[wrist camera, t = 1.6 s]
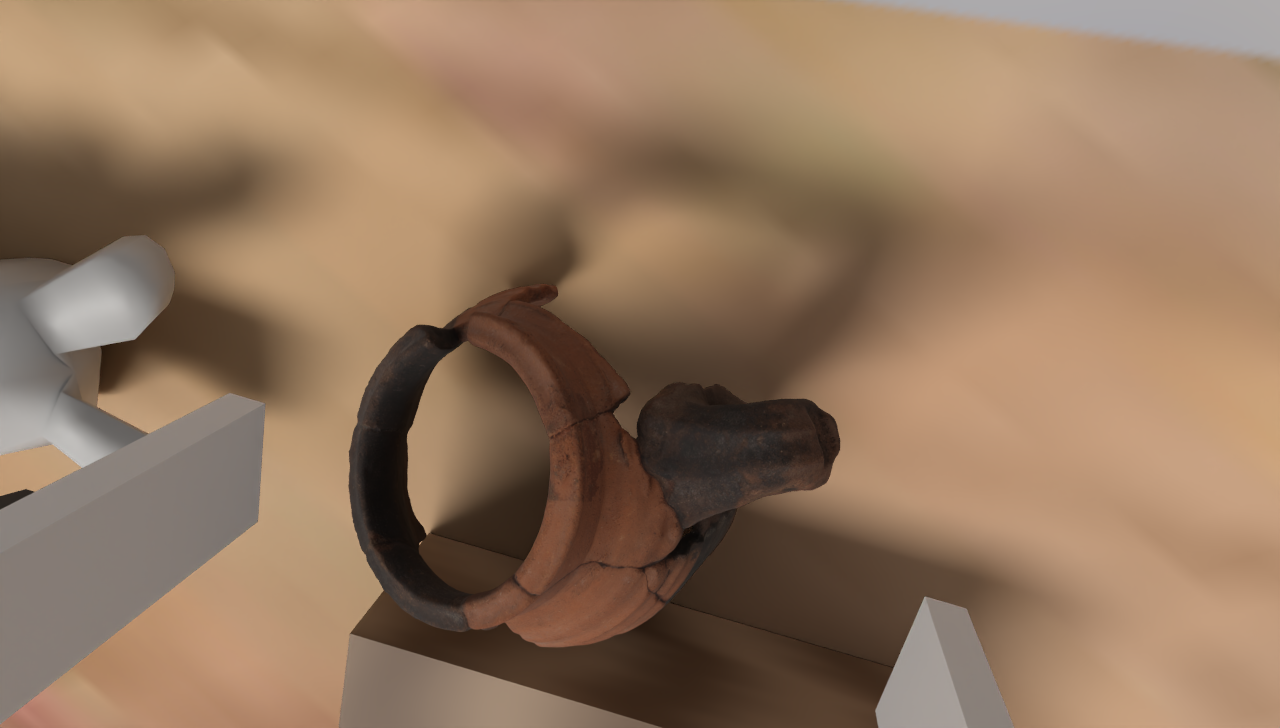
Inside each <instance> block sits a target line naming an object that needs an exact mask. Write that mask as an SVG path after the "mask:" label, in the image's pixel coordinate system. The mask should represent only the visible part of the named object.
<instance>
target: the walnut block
mask: <svg viewBox="0 0 1280 728" xmlns="http://www.w3.org/2000/svg"><path fill="white" fill-rule="evenodd" d="M419 554H420V555H421V556H422V558H423V560H424V561H425V562H426V564H427V565H428V566H429V567H430V568H431V569H432V571H433V572H434V573H435V574H436V575H437V576H438V577H439V578H441V579H442V580H443V581H444V582H445V583H446V584H448V585H449V586H451V587H453V588H455V589H456V590H459V591H461V592H465V593H469V594H476V593H480V592H485V591H489V590H492V589H494V588H496V587H498V586H499V585H501V584H502V583H504V582H505V581H506V580H507V579H508V578H510V577H511V576H512V575H513V574H514V573H516V571H517V569H518V568H519V567H520V566H521V564H522V563H523V562H524V561H523V560H520V559H516V558H513V557H509V556H506V555H503V554H499V553H496V552H492V551H489V550H485V549H482V548H478V547H475V546H472V545H468V544H465V543H461V542H458V541H454V540H451V539H447V538H444V537H441V536H437V535H434V534H430V533H429V534H428V535H427V536H426V538H425V539H424V540H423V541H422V543H421V544H420V545H419ZM893 669H894V668H892V667H888V666H885V665H881V664H878V663H875V662H871V661H868V660H864V659H861V658H857V657H854V656H850V655H847V654H844V653H840V652H837V651H833V650H830V649H826V648H823V647H819V646H816V645H813V644H809V643H806V642H802V641H799V640H795V639H792V638H788V637H785V636H782V635H778V634H775V633H771V632H768V631H764V630H761V629H757V628H754V627H751V626H747V625H744V624H740V623H737V622H733V621H730V620H726V619H723V618H720V617H716V616H713V615H709V614H706V613H702V612H699V611H695V610H692V609H689V608H685V607H682V606H678V605H675V604H671V603H668V604H666V605H665V606H664V607H663V608H662V609H661V610H660V611H659V612H658V613H657V614H655V615H654V616H653V617H652V618H650V619H648V620H647V621H646V622H644V623H642V624H641V625H639V626H637V627H636V628H634V629H632V630H630V631H628V632H625V633H622V634H617V635H614V636H612V637H611V638H609V639H606V640H602V641H600V642H596V643H593V644H587V645H577V646H568V647H540V646H538V645H536V644H535V643H533V642H528V641H526V640H524V639H523V638H522V637H521V636H520V635H519V634H516V633H514V632H512V630H511V629H510V628H509V627H508V625H507V624H506V623H505V622H504V623H502V624H500V625H499V626H498V627H496V628H493V629H490V630H482V629H479V630H478V629H470V630H468V631H465V632H456V631H451V630H444V629H441V628H436V627H434V626H431V625H429V624H426V623H424V622H422V621H421V620H419V619H415V618H414V617H412V616H411V615H410V614H409V613H407V612H405V611H404V610H403V609H401V608H400V607H399V606H398V604H397V603H396V602H395V601H394V600H393V599H392V598H391V596H390V595H389V594H388V593H386V592H385V591H383V592H382V594H381V595H380V596H379V597H378V599H377V600H376V601H375V603H374V604H373V605H372V606H371V608H370V609H369V610H368V611H367V613H366V614H365V615H364V617H363V618H362V619H361V620H360V622H359V623H358V624H357V625H356V627H355V628H354V629H353V631H352V632H351V633H350V638H349V647H348V655H347V663H346V671H345V680H344V688H343V696H342V704H341V713H340V721H339V728H878V723H877V717H876V712H875V710H876V708H877V705H878V703H879V701H880V698H881V696H882V694H883V692H884V689H885V687H886V685H887V682H888V680H889V678H890V675H891V673H892V671H893Z"/></svg>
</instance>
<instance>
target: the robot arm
mask: <svg viewBox="0 0 1280 728" xmlns="http://www.w3.org/2000/svg"><path fill="white" fill-rule="evenodd" d="M264 418H265V403H262V402H259V401H256V400H252V399H249V398H245V397H242V396H239V395H235V394H232V393H229V394H227V395H225V396H223V397H221V398H219V399H217V400H215V401H213V402H211V403H209V404H207V405H205V406H203V407H201V408H199V409H197V410H195V411H193V412H191V413H189V414H187V415H185V416H183V417H182V418H180V419H178V420H176V421H174V422H172V423H170V424H168V425H166V426H164V427H162V428H160V429H158V430H156V431H154V432H152V433H150V434H148V435H146V436H144V437H142V438H140V439H138V440H136V441H134V442H132V443H130V444H128V445H126V446H124V447H123V448H121V449H119V450H117V451H115V452H113V453H111V454H109V455H107V456H105V457H103V458H101V459H99V460H97V461H95V462H93V463H91V464H89V465H87V466H85V467H83V468H81V469H79V470H77V471H75V472H73V473H71V474H69V475H67V476H65V477H63V478H62V479H60V480H58V481H56V482H54V483H52V484H50V485H48V486H46V487H44V488H42V489H40V490H38V491H36V492H33V491H30V490H27V489H25V490H21V491H18V492H14V493H10V494H7V495H3V496H0V724H1V723H2V722H4V721H5V720H6V719H7V718H9V717H10V716H11V715H13V714H14V713H15V712H16V711H18V710H19V709H20V708H21V707H23V706H24V705H25V704H27V703H28V702H29V701H30V700H32V699H33V698H34V697H35V696H37V695H38V694H39V693H40V692H42V691H43V690H44V689H46V688H47V687H48V686H49V685H51V684H52V683H53V682H54V681H56V680H57V679H58V678H60V677H61V676H62V675H63V674H65V673H66V672H67V671H68V670H70V669H71V668H72V667H74V666H75V665H76V664H77V663H79V662H80V661H81V660H82V659H84V658H85V657H86V656H88V655H89V654H90V653H91V652H93V651H94V650H95V649H96V648H98V647H99V646H100V645H101V644H103V643H104V642H105V641H107V640H108V639H109V638H110V637H112V636H113V635H114V634H115V633H117V632H118V631H119V630H121V629H122V628H123V627H124V626H126V625H127V624H128V623H129V622H131V621H132V620H133V619H135V618H136V617H137V616H138V615H140V614H141V613H142V612H143V611H145V610H146V609H147V608H148V607H150V606H151V605H152V604H154V603H155V602H156V601H157V600H159V599H160V598H161V597H162V596H164V595H165V594H166V593H168V592H169V591H170V590H171V589H173V588H174V587H175V586H176V585H178V584H179V583H180V582H182V581H183V580H184V579H185V578H187V577H188V576H189V575H190V574H192V573H193V572H194V571H195V570H197V569H198V568H199V567H201V566H202V565H203V564H204V563H206V562H207V561H208V560H209V559H211V558H212V557H213V556H215V555H216V554H217V553H218V552H220V551H221V550H222V549H223V548H225V547H226V546H227V545H229V544H230V543H231V542H232V541H234V540H235V539H236V538H237V537H239V536H240V535H241V534H243V533H244V532H245V531H246V530H248V529H249V528H250V527H251V526H253V525H254V524H255V523H256V522H258V512H259V496H260V481H261V465H262V450H263V434H264ZM875 712H876V717H877V723H878V728H1014V726H1013V723H1012V721H1011V718H1010V716H1009V713H1008V711H1007V708H1006V706H1005V703H1004V701H1003V698H1002V696H1001V693H1000V691H999V688H998V686H997V683H996V681H995V678H994V676H993V673H992V671H991V668H990V666H989V663H988V661H987V658H986V656H985V653H984V651H983V648H982V646H981V643H980V641H979V638H978V636H977V633H976V631H975V628H974V626H973V624H972V621H971V619H970V616H969V614H968V611H967V609H966V608H963V607H960V606H956V605H953V604H950V603H946V602H943V601H939V600H936V599H933V598H929V597H926V596H925V597H924V599H923V602H922V604H921V606H920V609H919V611H918V613H917V616H916V618H915V620H914V622H913V625H912V627H911V629H910V632H909V634H908V636H907V639H906V641H905V643H904V646H903V648H902V650H901V652H900V655H899V657H898V659H897V662H896V664H895V666H894V669H893V671H892V673H891V675H890V678H889V680H888V682H887V685H886V687H885V689H884V692H883V694H882V696H881V698H880V701H879V703H878V705H877V708H876V710H875Z"/></svg>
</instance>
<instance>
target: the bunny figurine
mask: <svg viewBox="0 0 1280 728" xmlns="http://www.w3.org/2000/svg"><path fill="white" fill-rule="evenodd" d="M174 288H175V271H174V269H173V267H172V264H171V262H170V260H169V257H168V255H167V253H166V251H165V249H164V248H163V247H161V246H160V245H159V244H157V243H156V242H155V241H153V240H152V239H150V238H149V237H148V236H146V235H137V236H123V237H121V238H120V239H118V240H116V241H114V242H113V243H111V244H109V245H107V246H106V247H104V248H102V249H100V250H98V251H97V252H95V253H93V254H91V255H90V256H88V257H86V258H84V259H83V260H81V261H79V262H77V263H76V264H74V265H70V264H66V263H63V262H60V261H56V260H53V259H44V258H16V259H2V260H0V455H4V454H8V453H13V452H18V451H23V450H28V449H33V448H37V447H42V446H47V445H52V444H53V445H54V446H55V447H57V448H58V449H59V450H60V451H62V452H63V453H64V454H65V455H67V456H68V457H69V458H71V459H72V460H73V461H74V462H76V463H77V464H78V465H79V466H81V467H82V468H83V467H85V466H87V465H89V464H91V463H93V462H95V461H97V460H99V459H101V458H103V457H105V456H107V455H109V454H111V453H113V452H115V451H117V450H119V449H121V448H123V447H124V446H126V445H128V444H130V443H132V442H134V441H136V440H138V439H140V438H142V437H144V436H146V435H148V433H146V432H144V431H142V430H140V429H138V428H136V427H134V426H133V425H131V424H129V423H127V422H125V421H123V420H121V419H119V418H117V417H115V416H113V415H111V414H109V413H107V412H106V411H104V410H102V409H100V408H98V407H97V401H98V389H99V382H100V366H101V354H102V350H101V347H100V346H102V345H107V344H113V343H118V342H124V341H129V340H134V339H136V338H137V337H138V336H139V335H140V334H141V333H142V332H143V330H144V329H145V328H146V327H147V326H148V325H149V324H150V323H151V322H152V321H153V320H154V319H155V318H156V317H157V316H158V315H159V314H160V313H161V312H162V311H163V310H164V309H165V308H166V307H167V306H168V305H169V304H170V301H171V298H172V295H173V292H174Z"/></svg>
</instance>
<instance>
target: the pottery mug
mask: <svg viewBox="0 0 1280 728" xmlns="http://www.w3.org/2000/svg"><path fill="white" fill-rule="evenodd" d="M557 296H558V289H557V287H556V286H554V285H547V284H536V285H532V286H526V287H517V288H513V289H509V290H505V291H502V292H499V293H497V294H494V295H492V296H490V297H488V298H486V299H484V300H482V301H480V302H479V303H478V304H477V305H476V306H474V307H472V308H469V309H467V310H466V311H464V312H463V313H462V314H460V315H458V316H457V317H456V318H454V319H453V320H452V321H451V322H449V323H448V324H447V325H446V326H445V327H444V328H437V327H434V326H430V325H416V326H415V327H413V328H411V329H410V330H409V331H408V332H407V333H406V334H405V335H404V336H403V337H402V338H400V339H399V340H398V341H397V342H396V343H395V344H394V345H393V347H392V348H391V349H390V350H389V352H388V354H387V355H386V357H385V358H384V359H383V360H382V361H381V363H380V364H379V365H378V367H377V368H376V370H375V372H374V374H373V376H372V377H371V379H370V381H369V384H368V386H367V387H366V389H365V392H364V395H363V397H362V401H361V405H360V408H359V411H358V415H357V418H358V423H357V425H356V427H355V429H354V432H353V437H352V443H351V448H350V450H349V462H350V473H349V493H350V502H351V509H352V517H353V523H354V527H355V530H356V532H357V537H358V539H359V543H360V546H361V549H362V551H363V552H364V553H365V554H366V558H367V562H368V564H369V566H370V567H371V569H372V570H373V572H374V574H375V576H376V578H377V579H378V580H379V582H380V584H381V586H382V588H383V589H384V591H385V592H386V593H388V594H389V595H390V596H391V598H392V599H393V600H394V601H395V602H396V603H397V604H398V606H399V607H400V608H401V609H403V610H404V611H405V612H407V613H409V614H410V615H411V616H412V617H414V618H415V619H419V620H421V621H422V622H424V623H426V624H429V625H431V626H434V627H436V628H441V629H444V630H451V631H456V632H465V631H468V630H470V629H478V630H479V629H482V630H490V629H493V628H496V627H498V626H499V625H500V624H502V623H504V622H505V623H506V624H507V625H508V627H509V628H510V629H511V630H512V632H514V633H516V634H519V635H520V636H521V637H522V638H523V639H524V640H526V641H528V642H533V643H535V644H536V645H538V646H540V647H568V646H577V645H587V644H593V643H596V642H600V641H602V640H606V639H609V638H611V637H612V636H614V635H617V634H622V633H625V632H628V631H630V630H632V629H634V628H636V627H637V626H639V625H641V624H642V623H644V622H646V621H647V620H648V619H650V618H652V617H653V616H654V615H655V614H657V613H658V612H659V611H660V610H661V609H662V608H663V607H664V606H665V605H666V604H668V603H669V602H670V601H671V600H672V598H673V597H674V596H675V595H676V594H677V593H678V592H679V591H680V589H681V588H682V587H683V586H684V585H685V583H686V582H687V581H688V580H689V579H690V577H691V576H692V575H693V574H694V572H695V571H696V570H697V569H698V568H699V567H700V566H701V564H702V563H703V562H704V560H705V559H706V558H707V557H708V556H709V555H710V554H711V553H712V552H713V551H714V549H715V548H716V547H717V546H718V545H719V543H720V542H721V541H722V539H723V537H724V536H725V534H726V533H727V531H728V529H729V527H730V525H731V523H732V522H733V519H734V517H735V514H736V510H737V508H738V507H741V506H744V505H746V504H748V503H750V502H752V501H754V500H756V499H759V498H762V497H765V496H770V495H776V494H782V493H786V492H791V491H799V490H814V489H816V488H818V487H820V486H822V485H824V484H825V483H826V482H827V481H828V479H829V477H830V474H831V469H832V465H833V462H834V460H835V458H836V456H837V455H838V453H839V451H840V438H839V434H838V428H837V424H836V422H835V419H834V418H833V417H832V416H831V415H830V414H828V413H826V412H824V411H823V410H821V409H820V408H818V406H817V405H816V404H815V403H813V402H812V401H810V400H807V399H778V400H769V401H762V402H755V403H746V402H744V401H742V400H740V399H739V398H737V397H736V396H734V395H733V394H732V393H731V392H729V391H728V390H727V389H726V388H725V387H723V386H720V385H718V384H715V385H713V386H710V387H706V388H704V389H703V388H702V386H701V385H700V384H689V385H686V384H684V383H682V382H679V383H672V384H670V385H668V386H667V387H665V388H664V389H662V390H661V391H660V393H659V394H658V395H657V396H655V397H653V398H652V399H650V400H649V401H648V402H647V403H646V405H645V406H644V407H643V409H642V410H641V413H640V416H639V419H638V422H637V435H638V437H637V439H635V438H633V437H632V436H630V434H629V433H628V432H627V431H625V430H624V429H623V428H622V427H621V426H620V424H619V422H618V420H617V419H616V418H615V416H614V415H613V412H614V410H615V409H616V408H618V407H619V405H620V404H621V403H623V402H624V401H625V400H626V399H627V398H628V396H629V395H630V389H629V387H628V386H627V384H626V382H625V381H624V380H623V379H622V378H621V377H620V376H619V375H618V374H617V373H616V371H615V370H614V369H613V368H612V367H611V366H610V364H609V363H608V362H607V361H606V360H605V359H604V358H603V357H602V356H600V355H599V353H598V352H597V351H596V349H595V348H594V347H593V346H592V345H591V343H590V342H589V341H588V340H587V339H585V338H584V337H583V336H581V335H580V334H578V333H577V332H575V331H574V330H573V329H572V328H570V327H569V326H568V325H566V324H564V323H563V322H562V321H561V320H560V319H559V318H557V317H556V316H554V315H553V314H552V313H551V312H549V311H547V310H545V309H543V308H541V307H539V306H542V305H544V304H546V303H549V302H551V301H552V300H553V299H555V298H556V297H557ZM468 340H469V342H470V343H471V344H472V345H474V346H477V347H480V348H482V349H485V350H487V351H489V352H491V353H493V354H495V355H496V356H498V357H500V358H502V359H503V360H504V361H506V362H507V363H509V364H510V365H511V366H512V367H513V368H514V370H515V371H516V372H517V373H518V375H519V376H520V377H521V379H522V380H523V382H524V383H525V384H526V386H527V387H528V389H529V391H530V393H531V395H532V397H533V399H534V401H535V403H536V405H537V409H538V412H539V414H540V416H541V418H542V421H543V424H544V426H545V428H546V432H547V434H548V436H549V439H550V448H549V452H550V480H549V491H548V499H547V504H546V508H545V512H544V518H543V521H542V524H541V527H540V530H539V533H538V535H537V537H536V540H535V542H534V544H533V547H532V549H531V550H530V552H529V554H528V555H527V557H526V559H525V560H524V562H523V563H522V564H521V566H520V567H519V568H518V569H517V571H516V573H514V574H513V575H512V576H511V577H510V578H508V579H507V580H506V581H505V582H504V583H502V584H501V585H499V586H498V587H496V588H494V589H492V590H489V591H485V592H480V593H476V594H469V593H465V592H461V591H459V590H456V589H455V588H453V587H451V586H449V585H448V584H446V583H445V582H444V581H443V580H442V579H441V578H439V577H438V576H437V575H436V574H435V573H434V572H433V571H432V569H431V568H430V567H429V566H428V565H427V564H426V562H425V561H424V560H423V558H422V556H421V555H420V554H419V543H420V542H421V541H423V540H424V539H425V538H426V536H427V535H426V533H425V530H424V527H423V526H422V525H421V524H420V522H419V521H418V520H417V518H416V517H415V515H414V512H413V510H412V507H411V503H410V498H409V495H408V490H407V480H408V478H407V468H408V445H407V434H408V431H409V429H410V428H411V426H412V424H413V421H414V418H415V415H416V412H417V409H418V405H419V402H420V399H421V396H422V393H423V390H424V387H425V385H426V383H427V381H428V379H429V376H430V374H431V372H432V371H433V369H434V367H435V366H436V365H437V363H438V362H439V361H440V360H441V359H442V358H443V357H445V356H446V355H447V354H448V353H450V352H452V351H453V350H454V349H456V348H457V347H459V346H460V345H461V344H462V343H463V342H466V341H468ZM693 525H694V526H693ZM691 526H693V528H692V529H691V532H690V533H688V534H686V535H685V536H683V537H682V534H683V531H684V529H685V528H689V527H691ZM681 538H682V539H681Z"/></svg>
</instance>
